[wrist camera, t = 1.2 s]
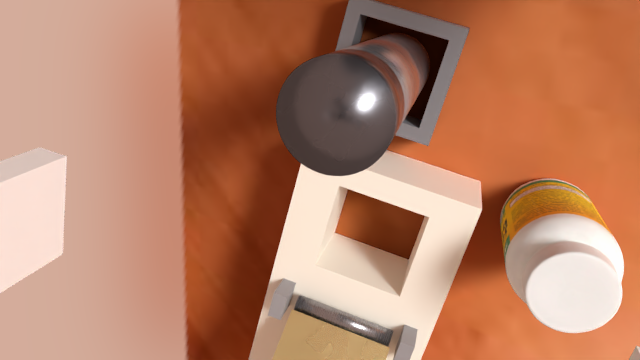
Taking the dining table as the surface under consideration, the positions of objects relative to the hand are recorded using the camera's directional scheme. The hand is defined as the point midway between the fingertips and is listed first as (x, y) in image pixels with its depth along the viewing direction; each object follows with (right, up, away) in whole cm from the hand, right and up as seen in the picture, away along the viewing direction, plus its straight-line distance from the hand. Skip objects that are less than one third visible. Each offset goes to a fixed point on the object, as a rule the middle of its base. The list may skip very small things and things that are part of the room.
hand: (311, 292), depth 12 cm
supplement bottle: (+14, 0, +21) cm, 25 cm away
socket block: (+3, -4, +25) cm, 25 cm away
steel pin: (+5, +9, +20) cm, 23 cm away
